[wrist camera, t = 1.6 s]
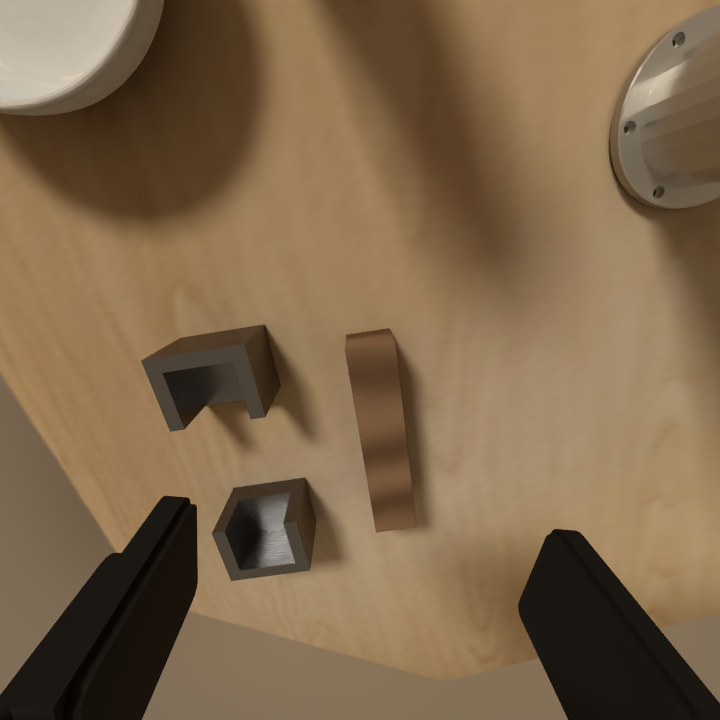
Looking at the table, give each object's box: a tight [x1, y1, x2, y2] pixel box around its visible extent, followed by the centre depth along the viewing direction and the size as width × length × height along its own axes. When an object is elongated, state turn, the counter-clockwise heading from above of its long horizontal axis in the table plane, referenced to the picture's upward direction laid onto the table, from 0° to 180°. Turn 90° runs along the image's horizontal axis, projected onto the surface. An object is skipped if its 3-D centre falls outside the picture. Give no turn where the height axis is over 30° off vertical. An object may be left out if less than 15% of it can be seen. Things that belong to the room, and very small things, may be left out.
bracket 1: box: [141, 325, 280, 432], centre depth 29 cm, size 6×8×6 cm
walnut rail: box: [345, 329, 417, 532], centre depth 32 cm, size 19×4×5 cm, turn 8°
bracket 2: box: [212, 478, 316, 581], centre depth 35 cm, size 6×8×6 cm
